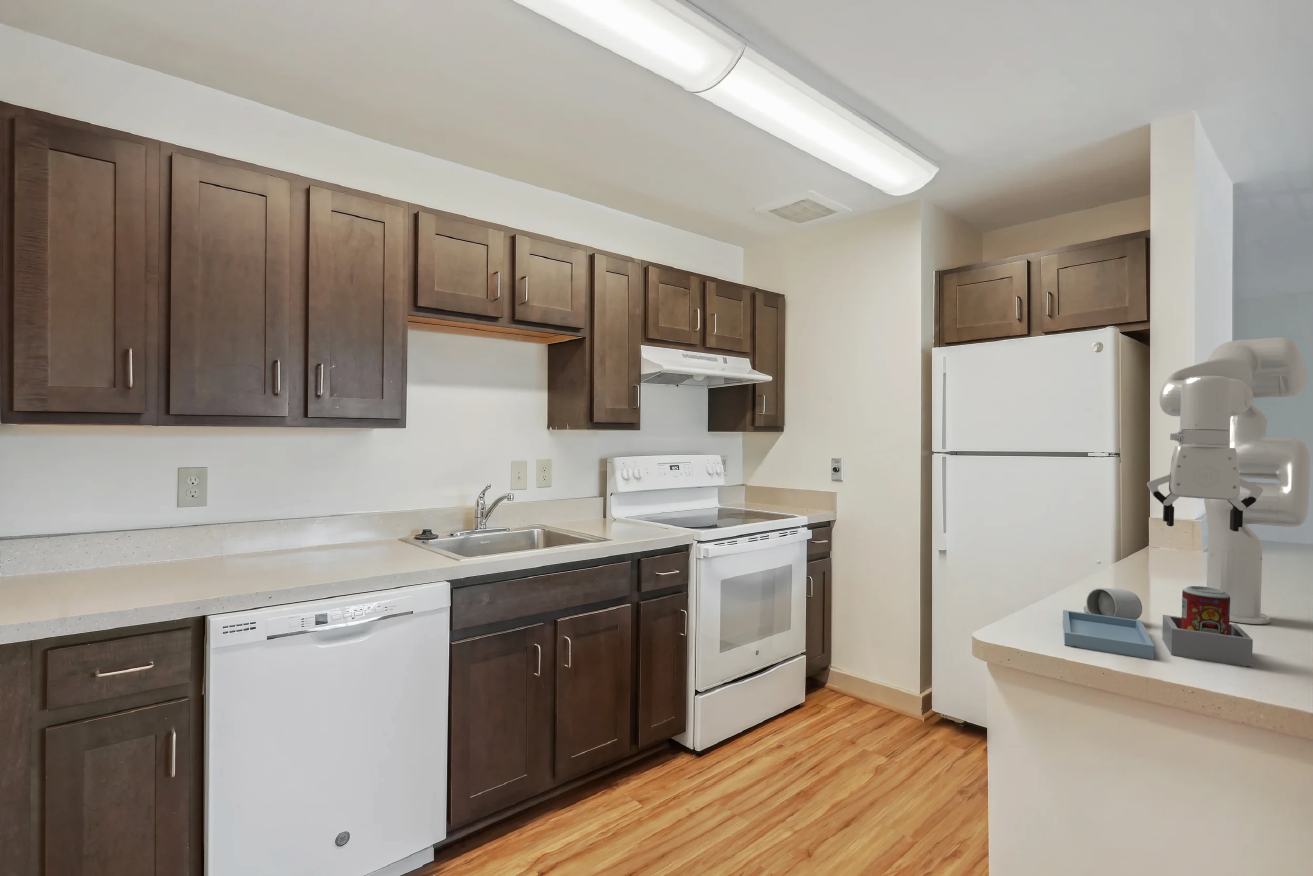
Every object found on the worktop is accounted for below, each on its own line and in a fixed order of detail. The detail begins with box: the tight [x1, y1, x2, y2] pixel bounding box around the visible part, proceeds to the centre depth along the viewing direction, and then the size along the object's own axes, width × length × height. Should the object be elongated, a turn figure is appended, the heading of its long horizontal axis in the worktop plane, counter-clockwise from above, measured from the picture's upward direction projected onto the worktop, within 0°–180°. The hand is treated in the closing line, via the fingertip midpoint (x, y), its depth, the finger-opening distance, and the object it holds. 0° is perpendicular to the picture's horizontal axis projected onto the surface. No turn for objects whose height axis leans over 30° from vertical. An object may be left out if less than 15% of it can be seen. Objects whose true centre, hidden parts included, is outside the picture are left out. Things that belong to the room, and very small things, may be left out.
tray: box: [1062, 609, 1155, 660], centre depth 132 cm, size 20×14×2 cm
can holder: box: [1161, 614, 1254, 668], centre depth 125 cm, size 12×12×5 cm
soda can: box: [1181, 585, 1231, 635], centre depth 125 cm, size 7×7×12 cm
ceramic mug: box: [1083, 587, 1143, 620], centre depth 146 cm, size 11×8×8 cm
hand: (1201, 528), depth 125 cm, fingers open, 9 cm apart
